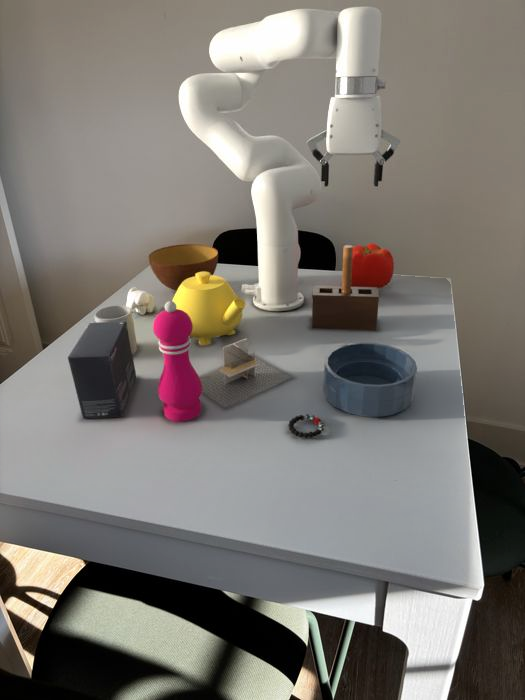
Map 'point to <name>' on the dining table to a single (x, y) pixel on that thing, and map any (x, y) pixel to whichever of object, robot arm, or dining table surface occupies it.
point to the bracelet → (310, 434)
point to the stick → (347, 269)
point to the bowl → (182, 263)
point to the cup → (118, 314)
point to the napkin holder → (240, 376)
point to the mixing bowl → (369, 379)
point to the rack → (345, 308)
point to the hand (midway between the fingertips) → (350, 185)
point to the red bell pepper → (371, 266)
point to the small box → (103, 369)
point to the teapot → (209, 306)
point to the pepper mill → (177, 365)
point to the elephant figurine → (140, 301)
